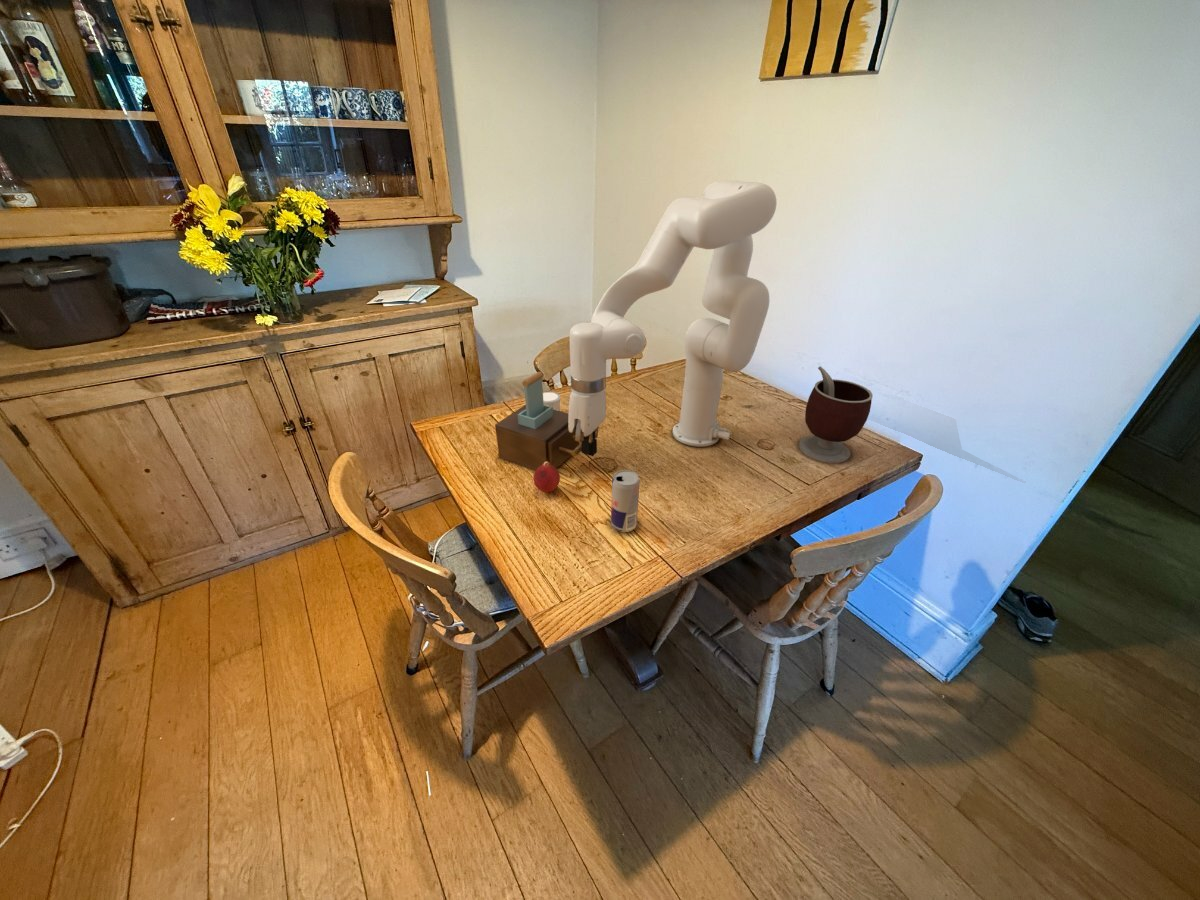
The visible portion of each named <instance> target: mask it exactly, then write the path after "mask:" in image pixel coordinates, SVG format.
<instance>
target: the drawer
mask: <svg viewBox="0 0 1200 900" xmlns="http://www.w3.org/2000/svg"><path fill="white" fill-rule="evenodd" d="M575 435H576V430H575V431H573V432H572V433H571V432H569V428H568V425H567V426H566V427H565V428H564V429H562V430H561V431H560V432H559V433H557V434H556V435H555V436H554V437H552V438H551V439H550V440H549V441H547V450H548V462H549V465H552V466H553V467H555V468H556V469H557V468H559V467H560V466H561V465H562V464H563V463H564V462H565V461H567V459H568V458H570V457H571V456H572V457H576V456H577V455H579V454H580V453H582V442H578V441H575Z"/></svg>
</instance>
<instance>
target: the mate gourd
mask: <svg viewBox="0 0 1200 900" xmlns="http://www.w3.org/2000/svg"><path fill="white" fill-rule="evenodd" d="M817 369H818V370H819V371H820V373H821V377H822V380H819V381H817V382H815V384H814V386H813V388H812V390H811V391H810V394H809V396H808V399H807V403H806V407H805V413H804V417H805V418H804V420H805V425H806V427H807V428H808V430H809V432H810V433H811V434H812V435H807V436H805V437H802V438H801V439H800V440H799V443H798V448H799V450H800V451H801V453H802V454H803V455H805V456H807V457H809V458H810V459H812V460H815V461H818V462H822V463H827V464H840V463H844V462H846V461H848V460H849V458H850V456H851V451H850V449H849V448H848V446H847V445H846V444H844V443H842V442H847V441H849V440H851V439H852V438H854V437H856V436H857V435H859V434H860V432H861V431H862V429H864V426H865V424H866V422H867V420H868V418H869V415H870V412H871V407H872V402H873V401H872V400H873V393H872V391H871V390H870V389H868V388H867V387H865V386H863V385H861V384H859V383H855V382H853V381H848V380H843V379H836V378H835V379H833V378H832V376H831V374H829V373H828V372H827V371H826V370H825V368H823V367H822V366H820V365H819V366H818V367H817Z"/></svg>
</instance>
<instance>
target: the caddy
mask: <svg viewBox="0 0 1200 900" xmlns="http://www.w3.org/2000/svg"><path fill="white" fill-rule="evenodd" d="M543 378H544V373H543V372H542V371H537V372H536V373H534V374H532V375H531V376H529V377H527V378H525V379H524V380H523V381H522V383H521V384H522V386H523V390H524V400H525V401H524V402H525V405H526V409H525V410H524V411H522V412H521V413H519V414H518V424H520V425H523V426H527V427H530V428H533V429H536V428H538V427H539V426H540V425H542V424H543V423H544V422H546V421H547V420H548V419H550V418H551V417H553V407H551V406H548V405H544V402H543V392H544V390H543Z"/></svg>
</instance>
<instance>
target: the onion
mask: <svg viewBox="0 0 1200 900" xmlns="http://www.w3.org/2000/svg"><path fill="white" fill-rule="evenodd" d="M560 482H561V476H560V472H559V470H558V469H557V468H555V467H553V466H552V465H549V462H548V461H547V462H544V464H543V465H541V466H540V467H538V468H537V470H534V473H533V484H534V486H535V487H536V488H537V490H538V491H541V492H543V493H550V492H552V491H554V490H555V489H557V487H558V486H559V485H560Z"/></svg>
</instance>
